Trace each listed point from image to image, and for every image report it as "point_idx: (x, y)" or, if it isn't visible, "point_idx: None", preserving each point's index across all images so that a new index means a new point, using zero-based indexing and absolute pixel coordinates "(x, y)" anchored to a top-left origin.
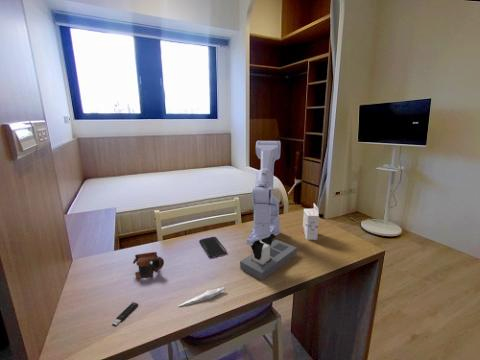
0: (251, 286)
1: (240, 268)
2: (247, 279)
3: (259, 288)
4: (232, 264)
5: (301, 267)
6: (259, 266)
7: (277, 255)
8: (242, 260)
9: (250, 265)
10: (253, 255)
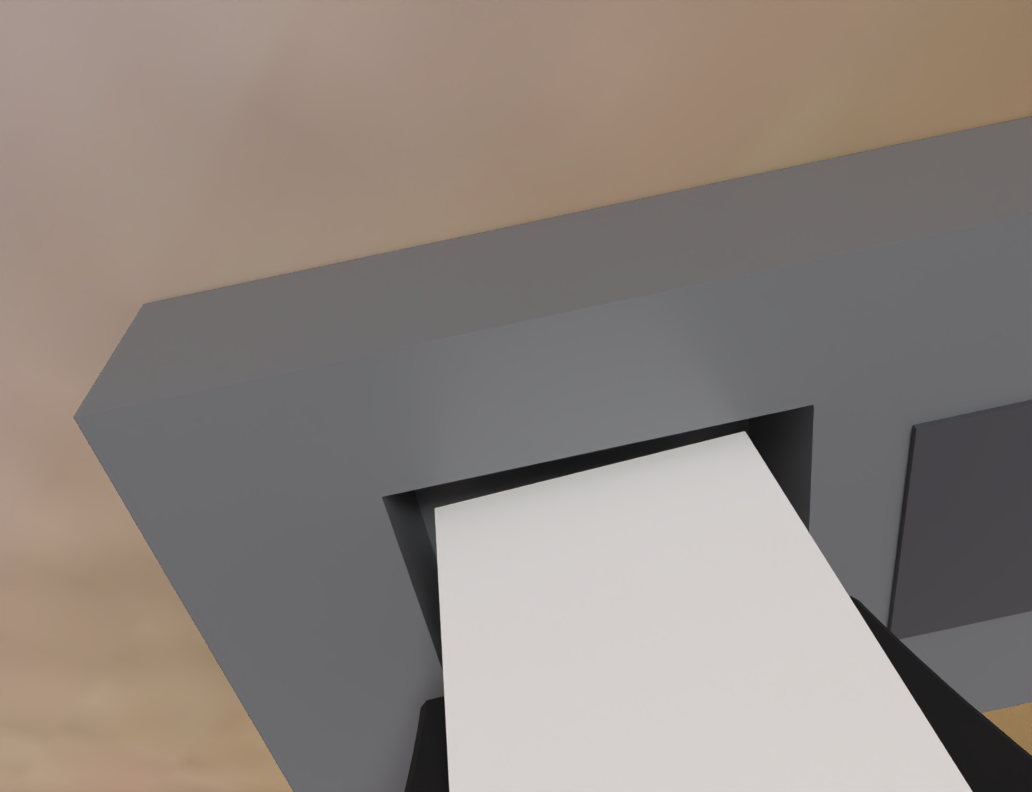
0: (124, 733)
1: (145, 315)
2: (138, 610)
3: (215, 788)
4: (5, 16)
5: (1001, 719)
6: (410, 735)
7: (992, 629)
8: (165, 415)
9: (254, 653)
10: (451, 657)
